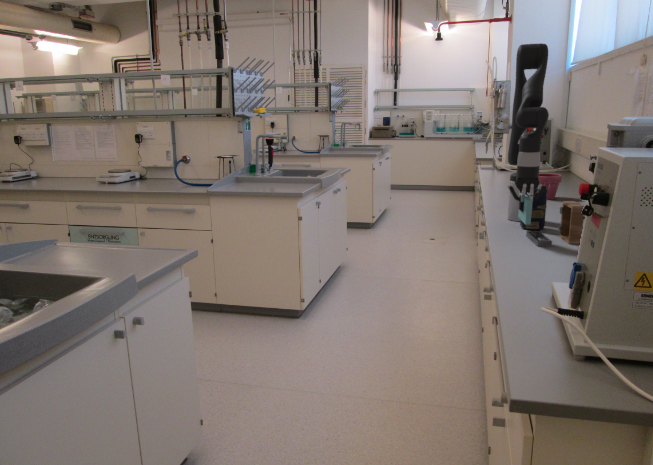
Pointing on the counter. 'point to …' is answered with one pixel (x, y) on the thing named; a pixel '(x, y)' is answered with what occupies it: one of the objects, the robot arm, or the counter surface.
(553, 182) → the plant pot
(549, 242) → the grey rectangular frame
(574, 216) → the cabinet
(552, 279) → the counter surface
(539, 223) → the canister
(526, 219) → the door panel
